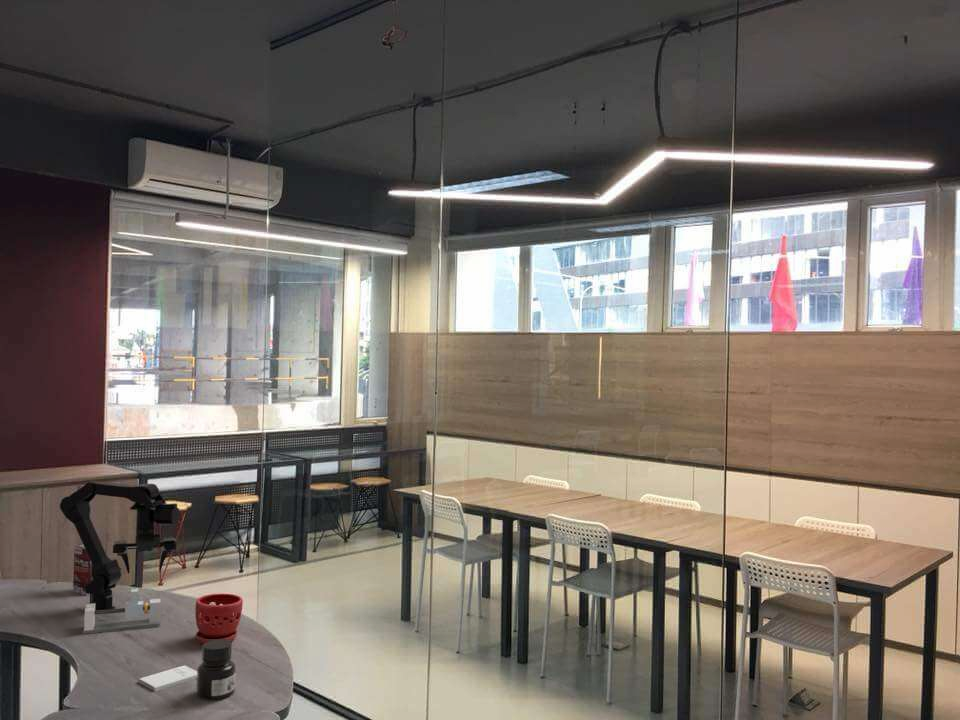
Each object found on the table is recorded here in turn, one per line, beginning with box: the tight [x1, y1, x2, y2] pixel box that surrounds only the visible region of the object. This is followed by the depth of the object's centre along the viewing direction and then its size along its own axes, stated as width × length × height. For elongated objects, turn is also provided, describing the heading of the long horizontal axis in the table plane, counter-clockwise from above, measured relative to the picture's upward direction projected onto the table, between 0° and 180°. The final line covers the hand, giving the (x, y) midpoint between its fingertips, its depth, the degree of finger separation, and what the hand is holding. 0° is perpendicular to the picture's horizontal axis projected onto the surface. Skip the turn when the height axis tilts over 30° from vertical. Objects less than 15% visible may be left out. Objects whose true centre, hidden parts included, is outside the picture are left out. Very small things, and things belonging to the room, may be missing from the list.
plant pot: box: [194, 593, 244, 644], centre depth 227 cm, size 13×13×12 cm
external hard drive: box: [137, 665, 197, 692], centre depth 197 cm, size 2×8×12 cm
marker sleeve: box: [124, 588, 144, 618], centre depth 237 cm, size 5×4×8 cm
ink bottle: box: [196, 640, 236, 701], centre depth 190 cm, size 10×9×12 cm
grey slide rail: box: [82, 598, 161, 635], centre depth 236 cm, size 21×7×7 cm, turn 113°
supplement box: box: [72, 544, 93, 596], centre depth 270 cm, size 9×5×16 cm, turn 62°
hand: (144, 572), depth 250 cm, fingers open, 9 cm apart
